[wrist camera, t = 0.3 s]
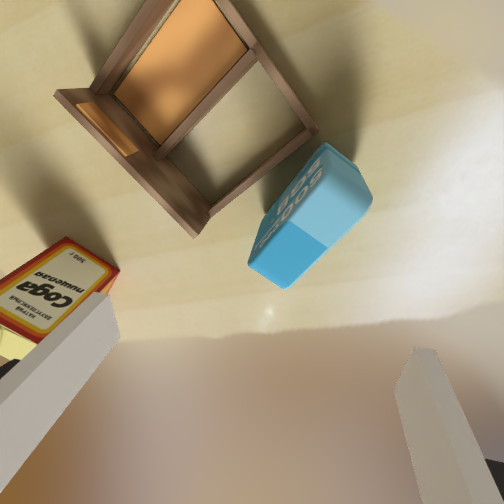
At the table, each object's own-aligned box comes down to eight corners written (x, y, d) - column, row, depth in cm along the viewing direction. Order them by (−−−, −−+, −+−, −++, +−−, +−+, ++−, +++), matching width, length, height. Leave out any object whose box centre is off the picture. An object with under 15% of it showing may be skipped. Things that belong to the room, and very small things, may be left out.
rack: (99, 92, 32) (53, 95, 27) (196, -50, 25) (161, -89, 19) (211, 213, 38) (193, 238, 32) (318, 127, 30) (320, 139, 25)
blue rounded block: (324, 138, 31) (331, 168, 21) (356, 163, 32) (377, 203, 22) (261, 218, 37) (243, 271, 27) (289, 237, 38) (282, 296, 28)
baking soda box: (120, 270, 46) (42, 350, 33) (107, 293, 49) (31, 375, 36) (66, 236, 44) (-41, 306, 31) (56, 262, 48) (-44, 336, 34)
